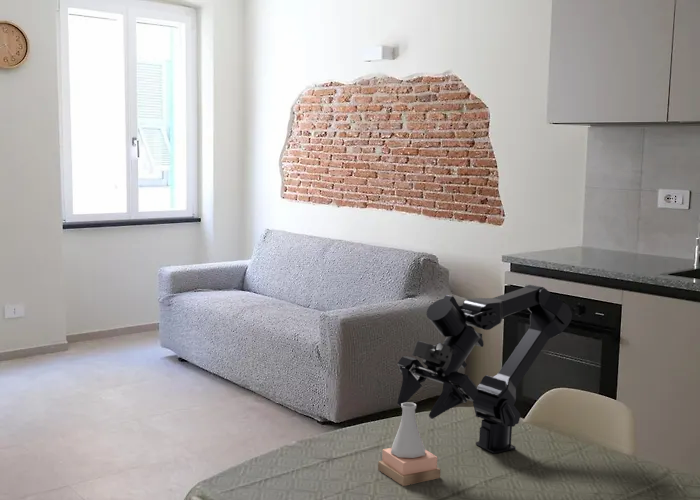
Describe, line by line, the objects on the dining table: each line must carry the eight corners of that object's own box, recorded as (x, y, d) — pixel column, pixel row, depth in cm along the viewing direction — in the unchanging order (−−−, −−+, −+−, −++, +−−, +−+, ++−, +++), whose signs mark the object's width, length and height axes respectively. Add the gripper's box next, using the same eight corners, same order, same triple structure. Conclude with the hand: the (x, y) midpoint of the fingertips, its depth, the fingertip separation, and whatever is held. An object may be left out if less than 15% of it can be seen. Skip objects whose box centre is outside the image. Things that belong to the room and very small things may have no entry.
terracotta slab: (415, 455, 169) (415, 443, 168) (436, 468, 162) (437, 456, 161) (382, 461, 165) (382, 449, 165) (402, 475, 158) (403, 463, 158)
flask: (430, 457, 160) (431, 409, 159) (395, 460, 159) (396, 411, 157) (420, 444, 167) (420, 398, 166) (386, 447, 166) (386, 400, 164)
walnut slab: (413, 465, 170) (414, 454, 169) (439, 481, 162) (440, 469, 162) (377, 473, 165) (378, 461, 165) (403, 489, 157) (403, 477, 157)
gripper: (405, 318, 171) (363, 377, 165) (470, 335, 156) (427, 400, 151) (430, 349, 177) (391, 407, 171) (495, 368, 162) (455, 432, 157)
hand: (414, 411), depth 162 cm, fingers open, 9 cm apart
